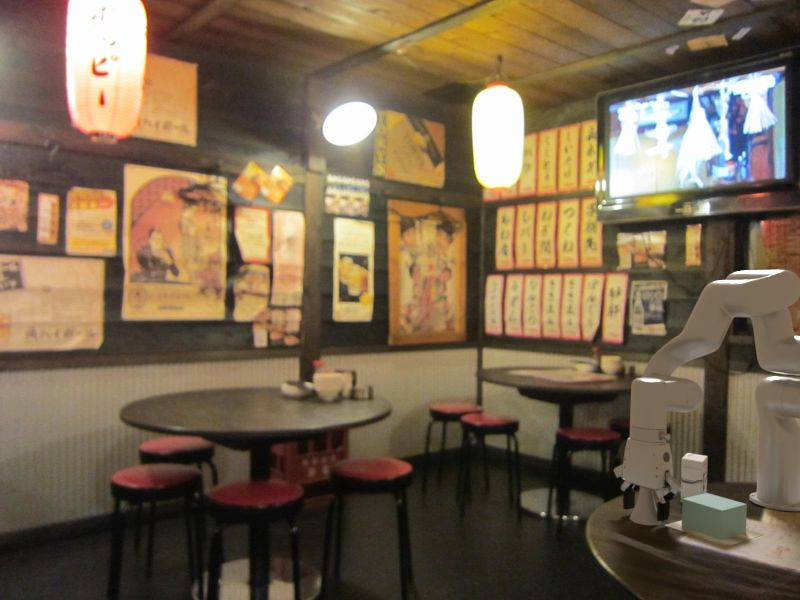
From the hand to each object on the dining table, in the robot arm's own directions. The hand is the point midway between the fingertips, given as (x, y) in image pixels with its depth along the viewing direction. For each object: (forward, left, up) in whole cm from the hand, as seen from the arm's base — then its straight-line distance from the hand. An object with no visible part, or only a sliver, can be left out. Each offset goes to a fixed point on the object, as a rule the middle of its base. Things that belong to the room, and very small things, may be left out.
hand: (645, 513), depth 145 cm
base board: (-8, +11, -3) cm, 14 cm away
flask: (0, 0, -3) cm, 3 cm away
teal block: (-8, +11, -1) cm, 14 cm away
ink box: (-24, -4, -3) cm, 24 cm away
